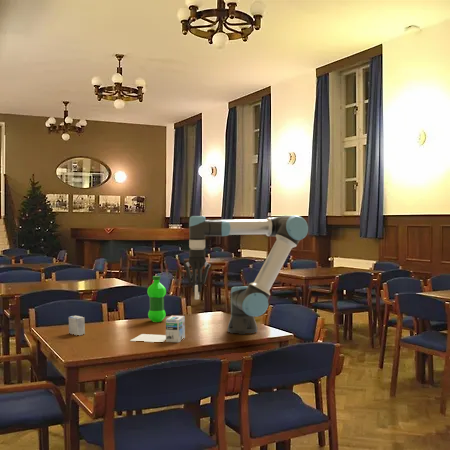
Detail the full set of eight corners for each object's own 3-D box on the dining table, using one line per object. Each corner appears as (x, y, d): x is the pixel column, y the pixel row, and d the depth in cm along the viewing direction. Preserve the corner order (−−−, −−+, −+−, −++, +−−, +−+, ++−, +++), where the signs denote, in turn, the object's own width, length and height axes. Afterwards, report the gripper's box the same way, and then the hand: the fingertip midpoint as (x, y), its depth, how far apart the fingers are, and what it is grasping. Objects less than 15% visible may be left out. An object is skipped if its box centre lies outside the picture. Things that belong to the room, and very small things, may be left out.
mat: (172, 336, 281) (172, 335, 281) (162, 342, 266) (162, 342, 266) (141, 334, 285) (141, 333, 285) (129, 341, 270) (129, 340, 270)
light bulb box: (179, 342, 267) (179, 319, 267) (165, 342, 268) (165, 319, 268) (185, 337, 277) (185, 315, 277) (171, 337, 279) (171, 315, 278)
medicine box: (85, 334, 285) (84, 317, 285) (77, 336, 282) (77, 318, 281) (76, 332, 290) (76, 315, 290) (68, 333, 287) (68, 316, 287)
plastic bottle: (165, 322, 314) (165, 277, 314) (146, 322, 314) (145, 277, 314) (167, 319, 324) (167, 275, 324) (148, 319, 325) (148, 275, 324)
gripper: (212, 248, 271) (212, 298, 272) (186, 248, 274) (186, 297, 275) (208, 249, 264) (208, 300, 264) (181, 249, 267) (181, 299, 267)
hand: (197, 299), depth 270 cm, fingers closed
